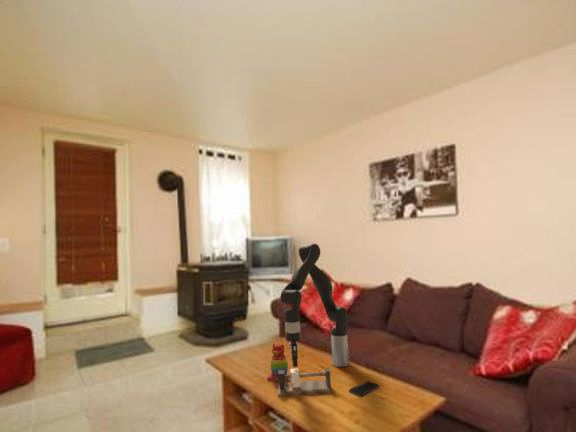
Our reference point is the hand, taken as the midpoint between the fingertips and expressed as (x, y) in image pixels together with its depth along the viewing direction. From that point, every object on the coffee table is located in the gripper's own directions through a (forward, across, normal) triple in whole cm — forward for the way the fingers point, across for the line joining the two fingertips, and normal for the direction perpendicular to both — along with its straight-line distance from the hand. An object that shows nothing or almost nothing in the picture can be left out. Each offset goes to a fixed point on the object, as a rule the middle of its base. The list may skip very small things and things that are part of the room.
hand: (294, 363), depth 173 cm
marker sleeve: (+9, 0, 0) cm, 9 cm away
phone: (+14, -4, -33) cm, 36 cm away
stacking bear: (+13, +16, +8) cm, 22 cm away
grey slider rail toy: (+13, 0, -4) cm, 14 cm away
